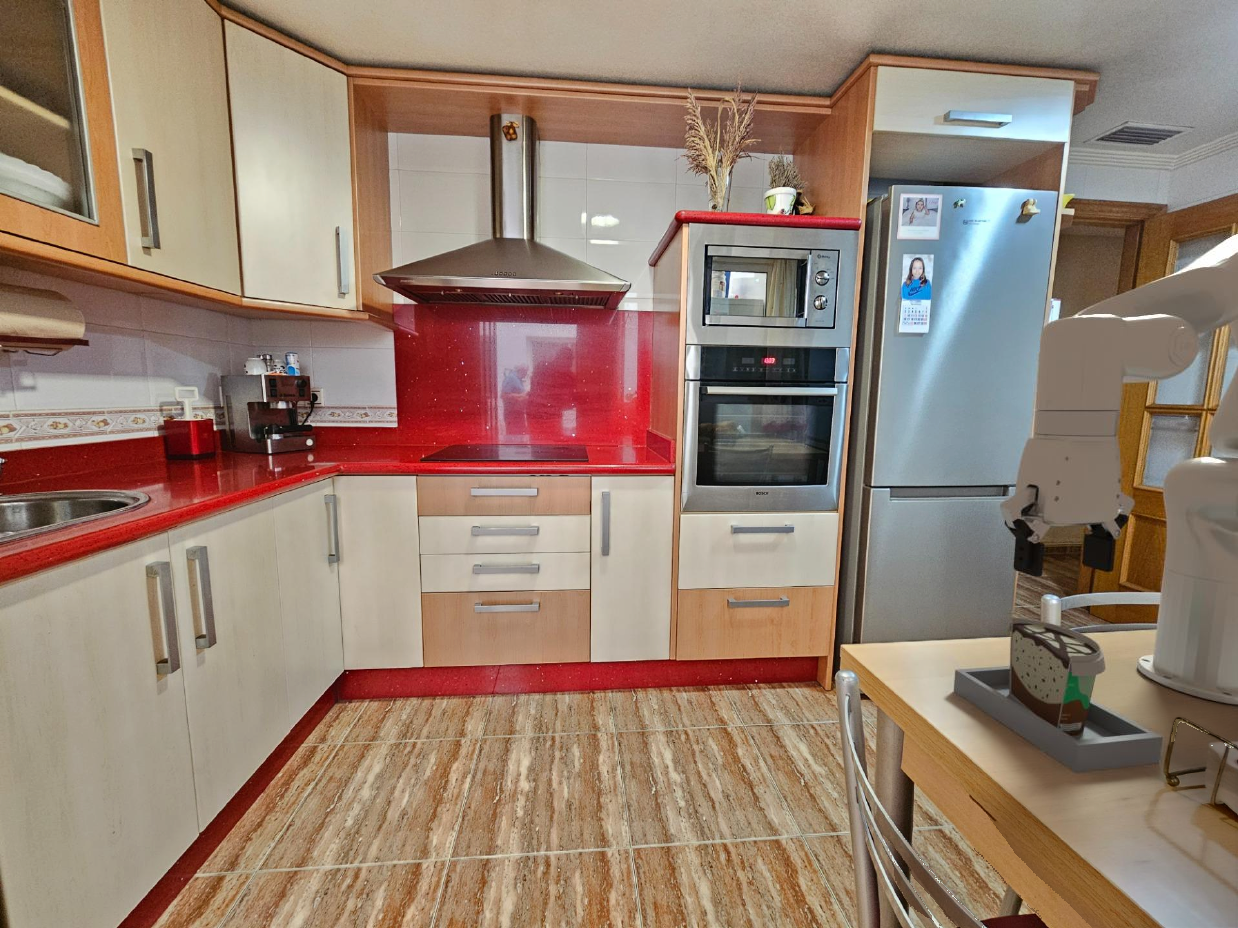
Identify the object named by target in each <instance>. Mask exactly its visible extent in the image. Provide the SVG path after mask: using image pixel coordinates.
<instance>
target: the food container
mask: <svg viewBox="0 0 1238 928" xmlns="http://www.w3.org/2000/svg"><path fill="white" fill-rule="evenodd" d="M1007 631H1008V632H1010V645H1009V646H1010V651H1009V666H1010V681H1009V694H1010V695H1011V696H1012V697H1013V698H1014V699H1015V700H1016V701H1017V702H1019V703H1020V704H1021V705H1022V706H1023V707H1024V708H1025V709H1027V710H1028V711H1030V712H1032V713H1033V714H1035V715H1037V716H1038V717H1040V718H1042V719H1043V720H1045V721H1047V722H1048V723H1050V724H1052V725H1053V726H1055V727H1056V728H1058V729H1060V730H1061V731H1063V732H1065V733H1066V734H1068V735H1070V736H1077V735H1079V734H1081V733H1082V732H1083V731H1084V727H1085V722H1086V718H1087V713H1088V709H1089V705H1090V700H1092V695H1093V691H1094V688H1095V687H1094V685H1095V682H1096V678H1097V677H1096V676H1098V675H1100V674H1102V673H1104V672H1105V671H1106V664H1105V657H1104V652H1103V651H1102V650H1101V649H1102V648H1101V646H1100V644H1099V643H1098V642H1097V641H1096V640H1094V639H1093V638H1091V637H1089V636H1087V635H1084V634H1083V633H1082V632H1078V631H1076V630H1073V629H1070V628H1068V627H1065V626H1062V625H1057V624H1055V623H1051V622H1047V621H1041V620H1036V619H1032V618H1031V619H1030V618H1023V617H1016V616H1015V617H1014V616H1012V617H1011V620H1010V621H1009V623H1008V628H1007Z"/></svg>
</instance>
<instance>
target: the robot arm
mask: <svg viewBox="0 0 1238 928" xmlns="http://www.w3.org/2000/svg"><path fill="white" fill-rule="evenodd" d="M1227 325H1229V327H1230V328H1229V329H1230V331H1231V334H1232V338H1233V340H1234V341H1233V342H1234V344H1235V348H1236V350H1237V352H1238V234H1235V235H1232V236H1231V237H1229V238H1227V239H1224V240H1223V241H1222V242H1220V243H1218V244H1216V245H1215V246H1214V247H1213V248H1211V249H1209V250H1208V251H1206V252H1205V253H1203V254H1202V255H1201V256H1198V257H1197V258H1196V259H1194V260H1193V261H1191V262H1190V263H1188V264H1187V265H1185V266H1184V267H1182V268H1181V269H1179V270H1178V271H1176V272H1175V273H1173V274H1170V275H1167V276H1165V277H1162V278H1158V279H1156V280H1154V281H1150V282H1148V283H1146V284H1143V285H1140V286H1139V287H1136V288H1134V289H1131V290H1127V291H1126V292H1123V293H1120V294H1118V295H1115V296H1112V297H1111V298H1107V299H1105V300H1103V301H1099V302H1098V303H1094V304H1093V305H1090V306H1089V307H1086V308H1085V309H1082V310H1080V311H1079V312H1077V313H1076V314H1073V315H1072V316H1069V317H1063V318H1059V319H1055V320H1052V321H1050V322H1049V323H1047V324H1046V325H1045V326H1044V327H1043V329H1042V331H1041V335H1040V340H1039V341H1040V342H1039V354H1038V368H1037V378H1036V379H1037V380H1036V381H1037V382H1036V396H1035V407H1034V410H1035V411H1034V420H1033V431H1032V432H1033V435H1032V438H1031V437H1030V438H1027V440H1026V442H1025V446H1024V448H1023V451H1022V454H1021V458H1020V462H1019V468H1018V471H1017V477H1016V484H1015V490H1014V495H1011V497H1009V498H1007V499H1006V500H1004V501H1002V502H1001V503H1000V504H999V510H1000V512H1001V514H1002V518H1003V519H1004V526H1005V527H1006V528H1007V529H1008V530H1009V532H1010V536H1011V537H1012V538H1014V555H1013V570H1014V571H1016V572H1018V573H1023V574H1025V575H1028V576H1030V577H1035V578H1040V577H1042V576H1043V571H1044V569H1043V568H1044V559H1045V557H1044V556H1045V543H1044V542H1041V541H1040V540H1042V538H1043V537H1044V536H1045V535H1046V533H1047V532H1048V531H1049V529H1050V528H1051V527H1052V526H1053V527H1066V526H1067V527H1068V526H1086V528H1087V530H1088V531H1089V532H1085V533H1084V537H1083V547H1082V548H1083V549H1082V557H1081V563H1082V566H1084V567H1087V568H1091V569H1095V570H1098V571H1101V572H1104V573H1112V572H1113V571H1114V566H1115V556H1116V548H1117V547H1116V545H1117V539H1119V538H1121V536H1122V530H1121V529H1123V527H1124V526H1126V525H1127V523H1128V521H1129V515H1130V514H1131V511H1133V509H1134V507H1135V504H1136V503H1135V502H1136V501H1135V499H1134V498H1132V497H1131V496H1129V495H1127V494H1125V493H1124V492H1123V491H1122V461H1121V457H1122V456H1121V449H1120V443H1119V438H1118V437H1119V436H1118V435H1119V426H1120V418H1121V417H1120V416H1121V407H1122V406H1121V405H1122V398H1123V397H1122V395H1123V387H1124V386H1123V384H1131V383H1132V384H1134V383H1137V384H1138V383H1152V382H1153V383H1154V382H1159V381H1164V380H1168V379H1171V378H1174V377H1176V376H1178V375H1180V374H1182V373H1183V372H1185V371H1186V370H1188V368H1190V366H1192V365H1193V363H1194V361H1195V360H1196V358H1197V356H1198V353H1199V351H1200V339H1199V335H1202V334H1206V333H1211V332H1213V331H1215V330H1219V329H1221V328H1223V327H1226V326H1227ZM1207 435H1208V436H1207V437H1208V441H1209V445H1210V446H1211V447H1212V448H1213V449H1214V450H1216V451H1217V452H1219V453H1222V454H1224V455H1227V457H1225V456H1203V457H1195V458H1190V459H1186V460H1183V461H1181V462H1179V463H1177V464H1175V465H1174V466H1173V467H1171V468H1170V469H1169V471H1168V472H1166V473H1167V474H1166V475H1165V478H1164V480H1163V487H1162V494H1163V495H1162V496H1163V503H1164V504H1163V505H1164V509H1165V520H1166V545H1165V556H1164V562H1163V563H1164V564H1163V565H1164V566H1163V570H1162V571H1163V572H1162V581H1161V586H1160V587H1161V588H1160V597H1159V605H1158V614H1157V622H1156V623H1157V624H1156V633H1155V641H1154V649H1153V654H1149V655H1148V654H1147V655H1143V656H1140V657H1139V658H1138V659H1137V666H1136V667H1137V668H1138V670H1139V671H1140V672H1141V674H1143V675H1144V676H1146V677H1147V678H1149V679H1151V680H1153V681H1155V682H1156V683H1158V684H1161V685H1162V686H1165V687H1168V688H1170V689H1173V690H1175V691H1179V692H1180V693H1183V694H1187V695H1191V696H1195V697H1196V698H1197V697H1198V698H1200V699H1204V700H1210V701H1213V702H1216V703H1217V702H1218V703H1224V704H1229V705H1230V704H1231V705H1236V706H1238V365H1237V367H1236V369H1235V372H1234V374H1233V377H1232V379H1231V381H1230V383H1229V384H1228V387H1227V388H1226V390H1225V392H1224V394H1223V397H1222V398H1221V401H1220V403H1219V405H1218V407H1217V409H1216V411H1215V413H1214V415H1213V417H1212V419H1211V421H1210V425H1209V428H1208V434H1207ZM1228 456H1230V457H1228ZM1231 456H1232V457H1231ZM1032 524H1035V525H1034V527H1033V528H1031V526H1032Z"/></svg>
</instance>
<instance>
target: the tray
mask: <svg viewBox="0 0 1238 928" xmlns="http://www.w3.org/2000/svg"><path fill="white" fill-rule="evenodd" d="M1009 681H1010V665H1000V666H989V667H988V666H986V667H976V668H975V667H974V668H973V667H971V668H958V669H957V668H956V669H954V681H953V683H954V684H953V692H955V693H956V694H957V695H959V696H961V697H962V698H963V699H965V700H966V701H968V702H969V703H971V704H972V705H974V706H975V707H977V708H978V709H980V710H981V711H983V712H984V713H986V714H987V715H989V716H990V717H992V718H993V719H994V720H996V721H998V722H999V723H1001V724H1002V725H1004V726H1005V727H1007V728H1008V729H1010V730H1011V731H1013V732H1014V733H1016V735H1019V736H1020V737H1022V738H1024V739H1025V740H1026V741H1028V742H1029V743H1031V744H1032V745H1034V746H1035V747H1036V748H1038V749H1040V750H1041V751H1043V752H1044V753H1045V754H1047V755H1048V756H1050V757H1052V758H1053V759H1055V760H1056V761H1058V762H1059V763H1061V765H1064V767H1067V768H1068V769H1070V770H1071V771H1073V772H1074V773H1082V772H1083V773H1084V772H1092V771H1101V770H1102V771H1103V770H1109V769H1121V768H1127V767H1137V766H1138V767H1139V766H1146V765H1155V764H1160V763H1161V762H1160V761H1161V753H1162V752H1161V751H1162V744H1163V736H1162V735H1160V734H1158V733H1156V732H1154V731H1152V730H1151V729H1149V728H1147V727H1145V726H1143V725H1141V724H1139V723H1137V722H1135V721H1133V720H1131V719H1130V718H1128V717H1125V716H1123V715H1121V714H1119V713H1118V712H1116V711H1113V710H1112V709H1110V708H1108V707H1106V706H1104V705H1102V704H1100V703H1099V702H1097V701H1095V700H1093V699H1091V700H1090V705H1089V709H1088V713H1087V718H1086V722H1085V727H1084V731H1083V732H1082V733H1081V734H1079V735H1077V736H1070V735H1068V734H1066V733H1065V732H1063V731H1061V730H1060V729H1058V728H1056V727H1055V726H1053V725H1052V724H1050V723H1048V722H1047V721H1045V720H1043V719H1042V718H1040V717H1038V716H1037V715H1035V714H1033V713H1032V712H1030V711H1028V710H1027V709H1025V708H1024V707H1023V706H1022V705H1021V704H1020V703H1019V702H1017V701H1016V700H1015V699H1014V698H1013V697H1012V696H1011V695H1010V694H1009Z"/></svg>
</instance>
